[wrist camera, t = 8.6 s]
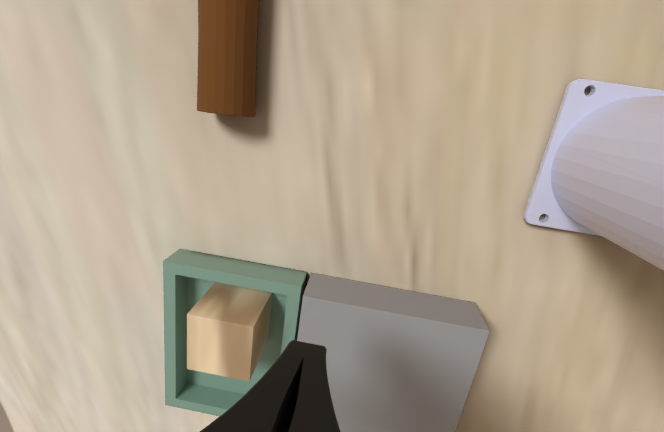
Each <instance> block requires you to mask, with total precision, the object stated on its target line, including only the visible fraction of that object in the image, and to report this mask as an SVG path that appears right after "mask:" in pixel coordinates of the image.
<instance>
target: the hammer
mask: <svg viewBox="0 0 664 432" xmlns="http://www.w3.org/2000/svg"><path fill="white" fill-rule="evenodd" d="M258 11H259V0H198V23H199V42H198V91H197V110H198V111H202V112H208V113H215V114H223V115H233V116H248V117H254V116H255V93H256V53H257V31H258Z"/></svg>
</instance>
